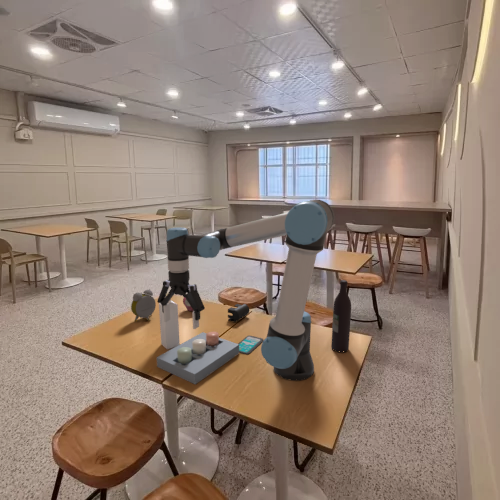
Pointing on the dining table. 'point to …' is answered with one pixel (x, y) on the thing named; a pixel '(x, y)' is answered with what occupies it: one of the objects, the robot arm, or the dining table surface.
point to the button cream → (199, 346)
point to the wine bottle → (341, 319)
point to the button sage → (184, 355)
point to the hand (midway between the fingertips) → (181, 324)
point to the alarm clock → (143, 304)
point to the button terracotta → (212, 338)
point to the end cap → (238, 312)
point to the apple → (187, 305)
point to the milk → (169, 326)
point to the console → (198, 359)
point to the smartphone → (249, 344)
